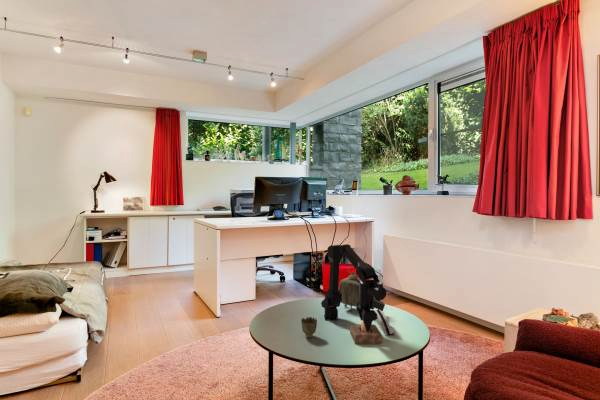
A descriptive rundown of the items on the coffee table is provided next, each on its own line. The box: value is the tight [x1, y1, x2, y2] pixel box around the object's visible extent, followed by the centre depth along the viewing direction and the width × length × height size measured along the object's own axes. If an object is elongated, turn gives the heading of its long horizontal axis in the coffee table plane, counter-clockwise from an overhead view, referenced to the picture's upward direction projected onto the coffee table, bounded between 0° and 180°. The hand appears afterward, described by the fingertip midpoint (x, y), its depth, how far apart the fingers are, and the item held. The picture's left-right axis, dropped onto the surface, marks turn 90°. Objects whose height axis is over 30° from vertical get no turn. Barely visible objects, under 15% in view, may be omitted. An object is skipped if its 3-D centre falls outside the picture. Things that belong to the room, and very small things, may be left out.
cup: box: [300, 316, 318, 339], centre depth 159 cm, size 8×7×8 cm
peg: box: [360, 319, 370, 332], centre depth 158 cm, size 4×4×8 cm
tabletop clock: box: [338, 266, 360, 312], centre depth 195 cm, size 14×9×25 cm, turn 58°
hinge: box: [373, 309, 396, 336], centre depth 170 cm, size 17×5×10 cm, turn 1°
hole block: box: [349, 324, 383, 345], centre depth 158 cm, size 12×12×4 cm
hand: (365, 327), depth 158 cm, fingers open, 9 cm apart
